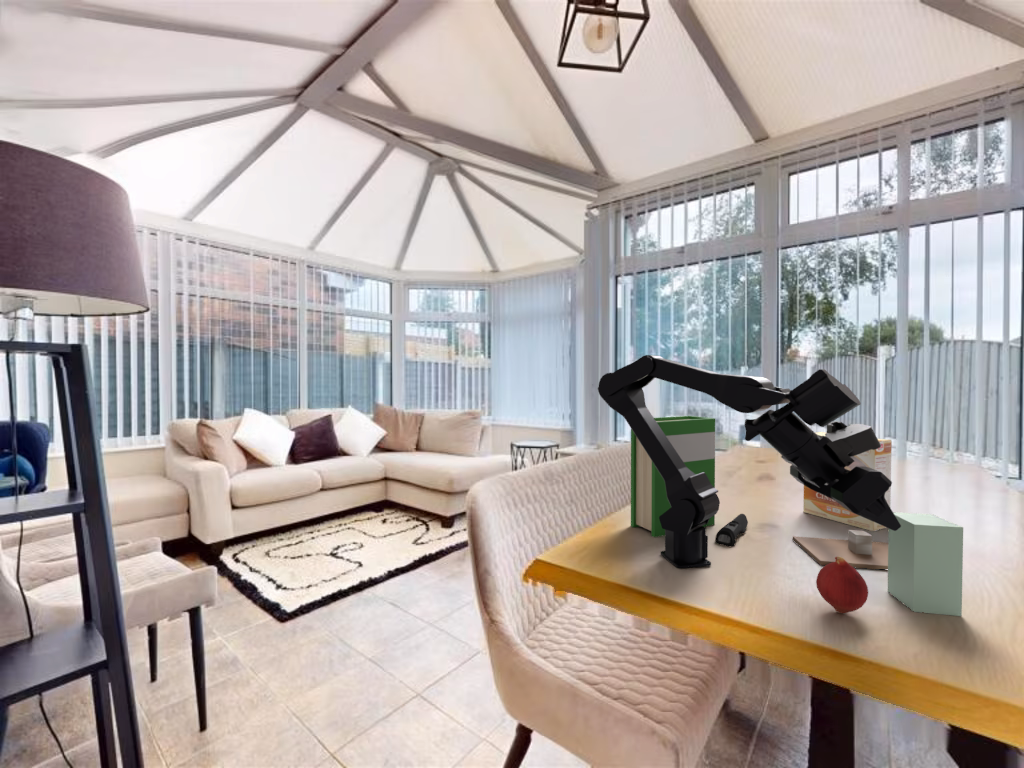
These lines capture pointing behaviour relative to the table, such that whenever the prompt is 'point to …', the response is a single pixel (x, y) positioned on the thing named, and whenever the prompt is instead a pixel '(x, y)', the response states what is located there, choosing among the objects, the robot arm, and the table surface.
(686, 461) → the hardback book
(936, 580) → the mint green prism
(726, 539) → the electric trimmer
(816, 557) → the brown board
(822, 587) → the onion
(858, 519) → the coffeecake box
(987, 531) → the table surface
